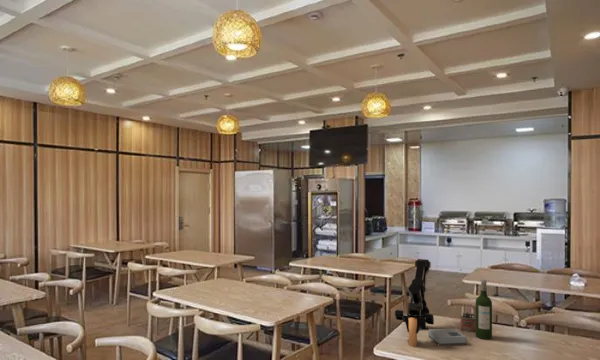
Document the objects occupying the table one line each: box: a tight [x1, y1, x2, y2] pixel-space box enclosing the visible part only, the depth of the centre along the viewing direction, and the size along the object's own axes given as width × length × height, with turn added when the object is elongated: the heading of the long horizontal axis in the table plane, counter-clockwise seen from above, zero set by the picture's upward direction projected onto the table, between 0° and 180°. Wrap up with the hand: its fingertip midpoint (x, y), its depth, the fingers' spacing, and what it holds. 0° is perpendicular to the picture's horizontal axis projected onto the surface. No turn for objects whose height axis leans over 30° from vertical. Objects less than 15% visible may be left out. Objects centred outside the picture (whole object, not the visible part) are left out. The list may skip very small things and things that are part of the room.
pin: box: [408, 317, 418, 347], centre depth 204 cm, size 4×4×13 cm
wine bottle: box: [475, 279, 493, 341], centre depth 216 cm, size 8×8×30 cm
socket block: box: [428, 328, 467, 346], centre depth 210 cm, size 12×14×4 cm
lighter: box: [460, 311, 476, 334], centre depth 225 cm, size 8×3×10 cm, turn 62°
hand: (412, 332), depth 202 cm, fingers closed on pin, 4 cm apart
